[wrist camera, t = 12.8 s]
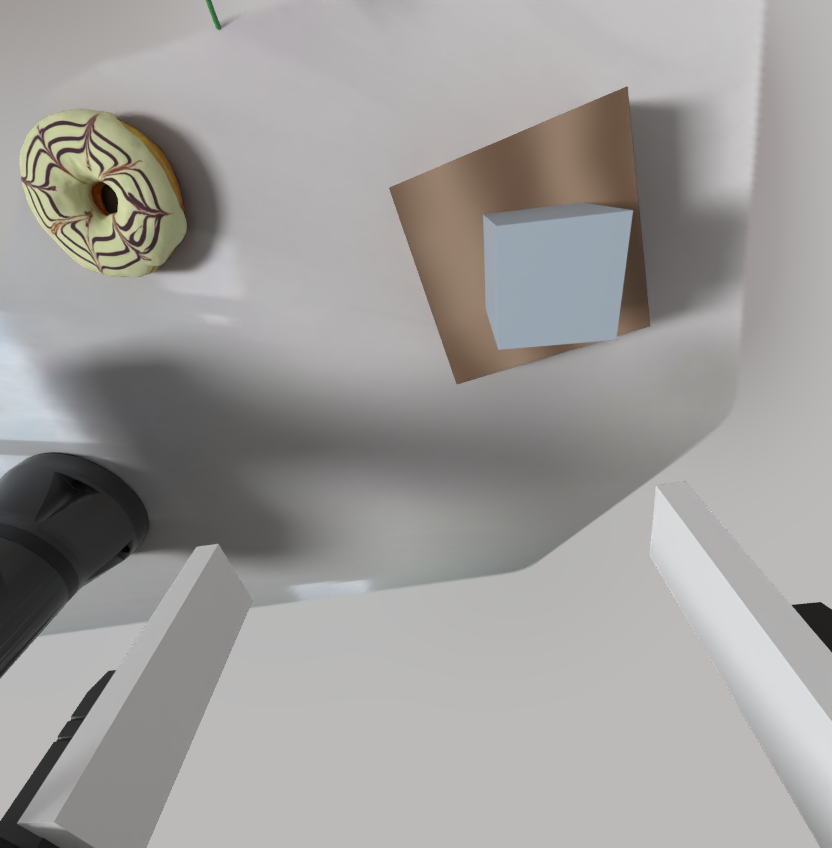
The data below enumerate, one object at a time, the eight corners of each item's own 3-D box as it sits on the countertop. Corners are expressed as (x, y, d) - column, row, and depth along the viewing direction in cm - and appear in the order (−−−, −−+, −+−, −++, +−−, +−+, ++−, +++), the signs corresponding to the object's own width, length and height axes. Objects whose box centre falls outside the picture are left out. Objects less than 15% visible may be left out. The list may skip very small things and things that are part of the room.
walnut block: (455, 356, 37) (456, 384, 32) (398, 186, 31) (389, 187, 26) (619, 304, 34) (650, 326, 29) (593, 103, 28) (627, 86, 23)
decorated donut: (223, 226, 33) (198, 231, 30) (131, 293, 36) (101, 305, 33) (118, 80, 29) (76, 67, 25) (25, 171, 32) (-23, 170, 28)
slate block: (485, 309, 29) (498, 349, 22) (483, 214, 26) (496, 225, 19) (574, 301, 28) (616, 339, 22) (582, 202, 26) (632, 210, 19)
